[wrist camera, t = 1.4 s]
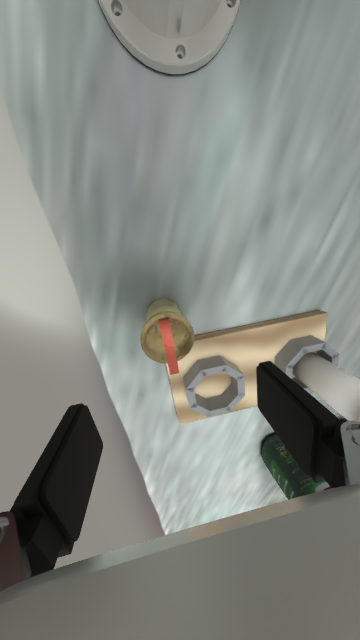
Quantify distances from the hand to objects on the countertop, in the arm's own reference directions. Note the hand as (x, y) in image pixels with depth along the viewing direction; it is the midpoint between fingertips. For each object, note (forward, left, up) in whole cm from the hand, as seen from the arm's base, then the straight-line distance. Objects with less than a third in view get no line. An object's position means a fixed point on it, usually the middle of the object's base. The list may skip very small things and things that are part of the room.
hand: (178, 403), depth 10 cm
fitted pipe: (+11, +19, -14) cm, 26 cm away
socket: (+11, +5, -14) cm, 18 cm away
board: (+11, +11, -16) cm, 22 cm away
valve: (0, 0, -16) cm, 16 cm away
